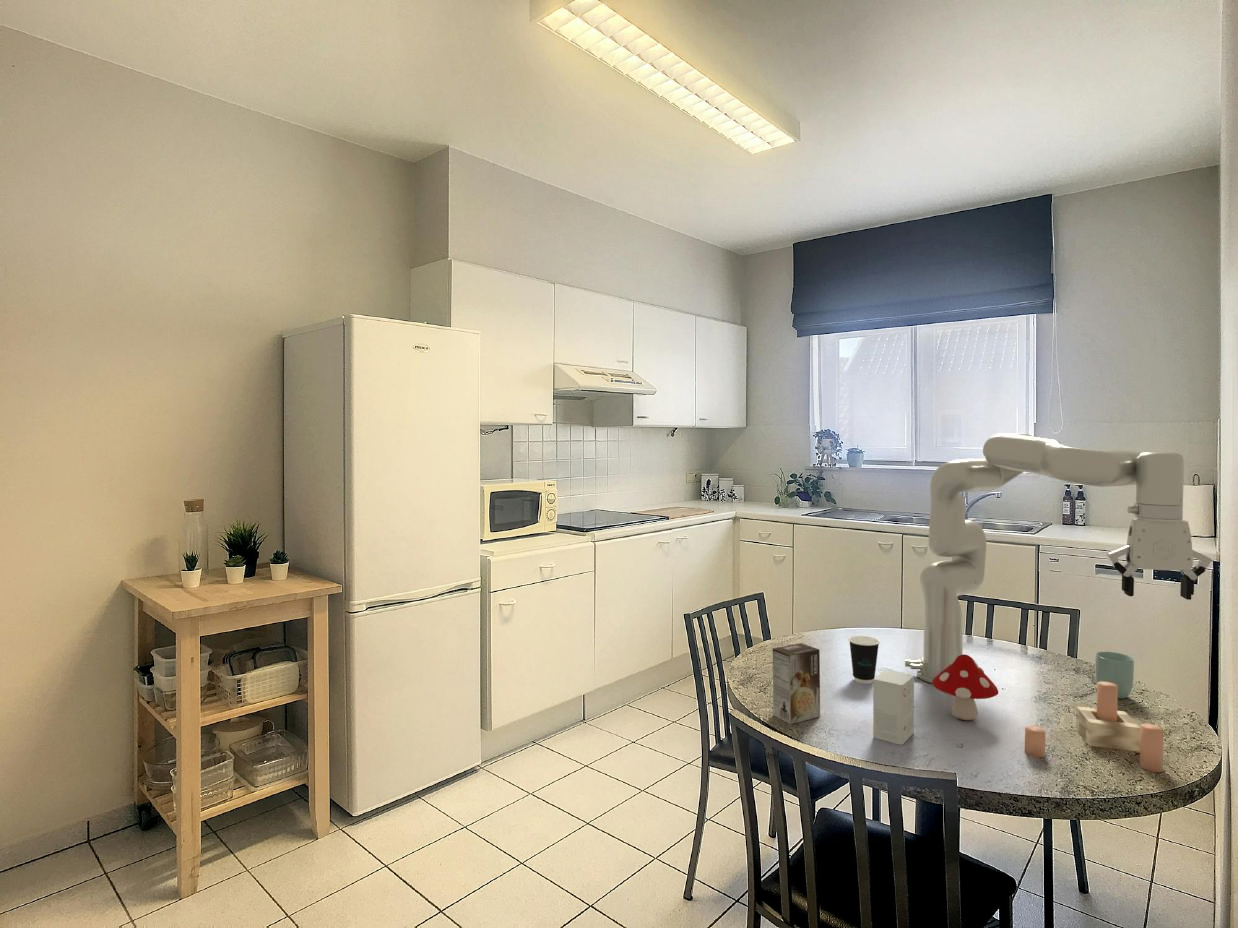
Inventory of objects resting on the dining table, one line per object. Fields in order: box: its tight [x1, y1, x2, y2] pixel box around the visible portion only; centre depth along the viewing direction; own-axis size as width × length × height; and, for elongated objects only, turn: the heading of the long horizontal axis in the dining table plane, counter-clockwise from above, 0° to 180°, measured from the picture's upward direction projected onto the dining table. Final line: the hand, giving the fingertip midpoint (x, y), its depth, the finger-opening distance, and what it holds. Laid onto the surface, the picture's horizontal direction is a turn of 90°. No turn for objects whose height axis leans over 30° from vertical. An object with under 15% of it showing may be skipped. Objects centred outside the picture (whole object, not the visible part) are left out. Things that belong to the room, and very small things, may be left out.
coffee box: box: [772, 642, 821, 725], centre depth 161 cm, size 9×6×16 cm
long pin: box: [1096, 682, 1119, 722], centre depth 147 cm, size 4×4×12 cm
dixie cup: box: [848, 635, 881, 685], centre depth 184 cm, size 8×8×11 cm
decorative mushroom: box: [931, 654, 999, 721], centre depth 159 cm, size 14×14×15 cm
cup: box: [1094, 651, 1135, 699], centre depth 172 cm, size 8×8×10 cm
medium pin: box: [1139, 723, 1164, 773], centre depth 135 cm, size 4×4×8 cm
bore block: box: [1075, 706, 1140, 753], centre depth 148 cm, size 9×9×5 cm
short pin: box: [1024, 725, 1046, 759], centre depth 142 cm, size 4×4×5 cm
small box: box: [872, 669, 915, 746], centre depth 150 cm, size 8×6×13 cm
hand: (1156, 596), depth 140 cm, fingers open, 9 cm apart
